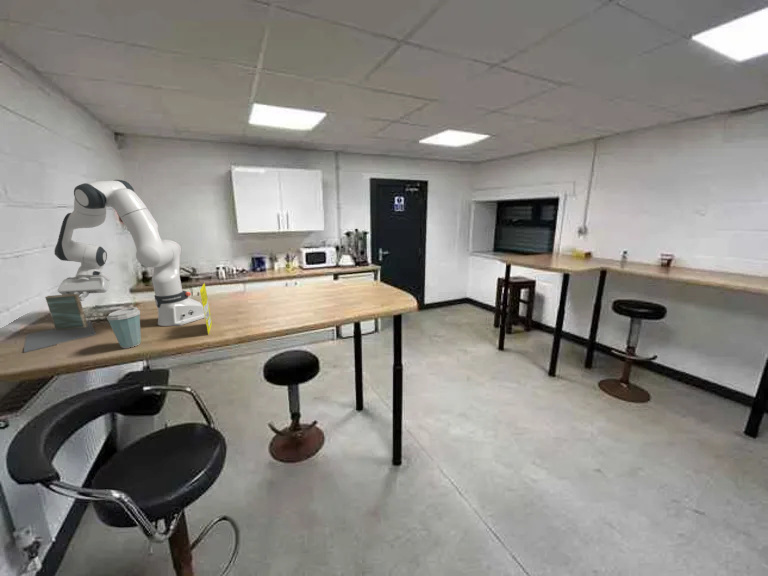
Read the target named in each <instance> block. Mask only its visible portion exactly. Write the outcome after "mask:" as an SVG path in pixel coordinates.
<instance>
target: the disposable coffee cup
mask: <svg viewBox="0 0 768 576" xmlns="http://www.w3.org/2000/svg"><path fill="white" fill-rule="evenodd" d="M140 314H141V310H140V309H139V308H138V307H135V306H133V307H127V308H124V309H123V308H122V309H118V310H114V311H113V312H110V313H109V314H108V315H107V317H106V320H107V321H108V324H109V325H110V327H111V330H112V332H113V334H114V336H115V338H116V339H117V341H118V344H119V346H120V347H121V348H122V349H130V347H131V348H134V346H135V347H137V345H138V346H139V345H141V342H142V338H141V337H142V335H141V334H142V333H141V317H140Z"/></svg>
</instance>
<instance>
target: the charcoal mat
mask: <svg viewBox="0 0 768 576" xmlns="http://www.w3.org/2000/svg"><path fill="white" fill-rule="evenodd" d="M86 321H87V324H88V326H87V327H85V328H74V329H62V330H56V329H55V327H54V328H51V329H46V330H40V331H36V332H32V333H28V334H27V333H26V335H25V341H24V347H23V353H29V351H30V352H33V351H37V349H38V350H42V349H46V348H50V347H49V346H51V347H54V346H53V345H55V346H58V345H57V344H59V345H60V344H62V343H67V342H71V341H75V340H79V339H84V338H88V337H92V336H96V335H97V333H96V331H95V329H94V326H93V322H92V321H91V320H86ZM45 347H46V348H45ZM41 348H42V349H41Z"/></svg>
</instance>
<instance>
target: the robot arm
mask: <svg viewBox="0 0 768 576" xmlns="http://www.w3.org/2000/svg"><path fill="white" fill-rule="evenodd" d="M73 196H74V199H73V201H74V202H73V211H72V212H67V214H66V215H65V216H64V218H63V220H62V223H61V226H60V231H59V234H58V239H57V243H56V244H55V247H54V252H53V253H54V255H55V256H56V258H57V259H59V260H60V261H65V262H66V261H67V262H76V263H80V266H79V267H78V268H77V269H78V270H77V271H76V274H75V276H73V277H70V276H69V277H67V278H65V279H63V280H62V281H61V283H60V285H59V287H58V288H57V293H59V295H68V294H79V297H80V301H81V302H84V301H85V299H86V298H87V297H88V296H89V295H90V294H101V293H107V291H109V286H110V280H111V278H110V277H109V276H108V275H107V274H106V273H104V272H102V270H103V269H104V266H105V264H106V261H107V259H108V253H107V251H106V249H104V248H103V247H102V246H100V245H96V244H90V243H83V242H78V241H74V240H72V237H73V233H74V230H78V229H90V228H95V227H99V226H101V225H102V224H104V222H106V217H107V208H112V209H114V210H115V212H116V214H117V215H118V217H119V218H120V220H121V221H122V222H123V224H124V226H125V227H126V228H127V231H128V232H129V233H130V236H131V238H132V240H133V242H134V245H135V249H136V253H135V258H136V260H137V262H138V263H139V264H140V265H141V266H143V267H146V268H153V273H152V277H151V282H152V286H153V291H154V301H155V305H156V307H157V317H158V318H157V325H158V326H161V327H169V326H171V327H172V326H175V327H178V326H179V327H180V326H184V325H185V324H188V323H193V322H195V321H199V320H201V319H205V315H204V310H203V305H202V302H200V301H198V300H196V299H193V298H191V295H192V293H191V292H189V291H186V290H183V286H182V281H181V274H180V267H181V266H180V261H181V254H182V248H181V245H180V244H179V242H176V241H174V240H171V239H162V238H161V236H160V233H159V224H158V222H157V221H156V220H155V218H154V216H153V215H152V213H151V212H150V210H149V208H148V207H147V205H146V204H145V203H144V202H143V200H142V199H141V198H140V197H139V195H137V193H136V191H135V190H134V188H133V186H132V184H130V183H129V181H126V180H123V179H114V180H96V181H91V182H88V183H87V182H86V183H81V184H78V185H77V186H75V187H74V189H73Z"/></svg>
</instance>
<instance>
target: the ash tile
mask: <svg viewBox="0 0 768 576" xmlns="http://www.w3.org/2000/svg"><path fill="white" fill-rule="evenodd" d="M80 297H81V296H79V294H68V295H62V294H58V295H56V294H55V295H47V296H45V297H44V299H45V301H46V304H47V307H48V310H49V313H50V316H51V319H52V322H53V325H54V328H55V329H56V330H62V329H74V328H85V327H87V326H88V324H87V321H88V320H87V318H86V314H85V311H84V308H83V305H82V301H80Z"/></svg>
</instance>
